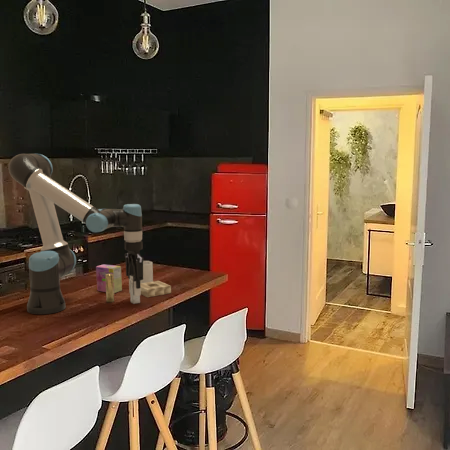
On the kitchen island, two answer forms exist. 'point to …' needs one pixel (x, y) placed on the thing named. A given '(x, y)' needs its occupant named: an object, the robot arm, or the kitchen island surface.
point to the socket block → (155, 288)
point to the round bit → (109, 288)
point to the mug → (147, 272)
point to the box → (101, 277)
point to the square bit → (133, 298)
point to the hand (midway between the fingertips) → (135, 294)
